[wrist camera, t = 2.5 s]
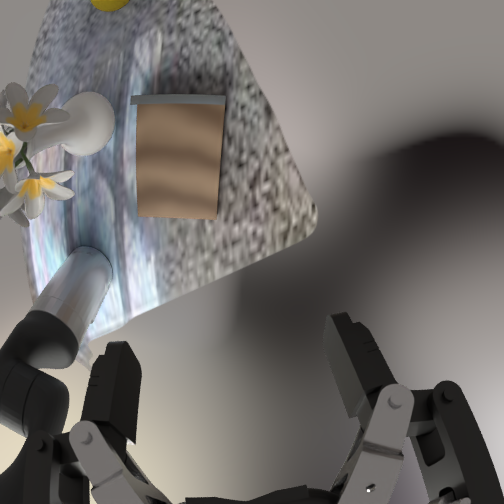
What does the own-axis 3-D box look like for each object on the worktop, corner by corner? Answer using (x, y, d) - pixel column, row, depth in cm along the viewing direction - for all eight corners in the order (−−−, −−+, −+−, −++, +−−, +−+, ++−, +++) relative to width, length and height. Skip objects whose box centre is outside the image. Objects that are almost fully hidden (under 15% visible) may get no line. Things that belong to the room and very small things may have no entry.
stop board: (216, 215, 44) (215, 228, 40) (140, 212, 42) (132, 224, 38) (226, 96, 35) (225, 95, 31) (140, 95, 33) (130, 95, 29)
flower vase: (52, 78, 29) (-71, 92, 8) (157, 90, 33) (62, 86, 12) (39, 155, 35) (-70, 220, 13) (135, 175, 39) (49, 267, 18)
